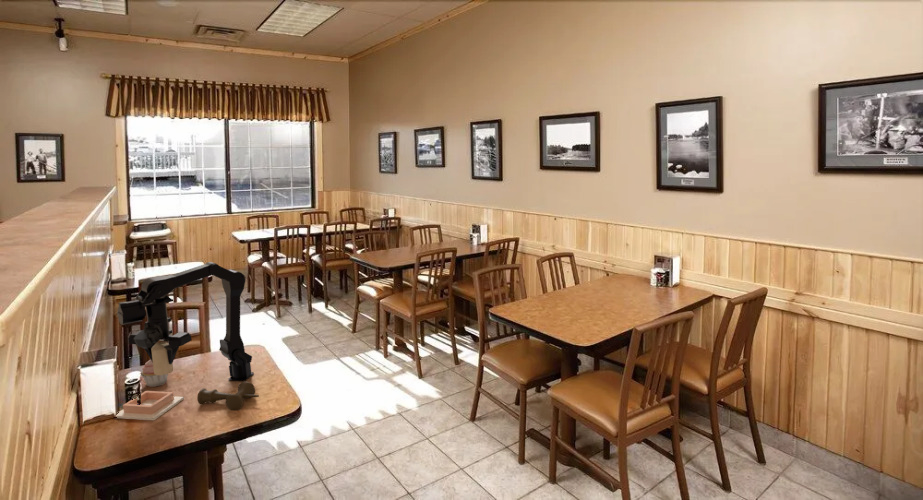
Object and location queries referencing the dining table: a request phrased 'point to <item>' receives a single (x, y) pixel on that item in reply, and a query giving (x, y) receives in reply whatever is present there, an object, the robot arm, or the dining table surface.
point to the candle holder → (149, 405)
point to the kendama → (228, 396)
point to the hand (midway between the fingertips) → (162, 363)
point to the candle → (161, 359)
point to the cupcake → (152, 375)
